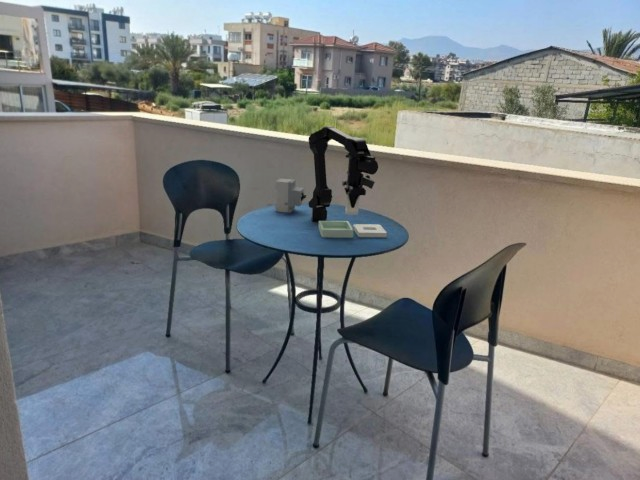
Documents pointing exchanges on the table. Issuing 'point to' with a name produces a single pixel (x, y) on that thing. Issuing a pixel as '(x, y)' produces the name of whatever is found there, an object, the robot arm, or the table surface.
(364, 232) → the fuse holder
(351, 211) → the block
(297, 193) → the circuit breaker
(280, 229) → the table surface
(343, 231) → the parts tray
